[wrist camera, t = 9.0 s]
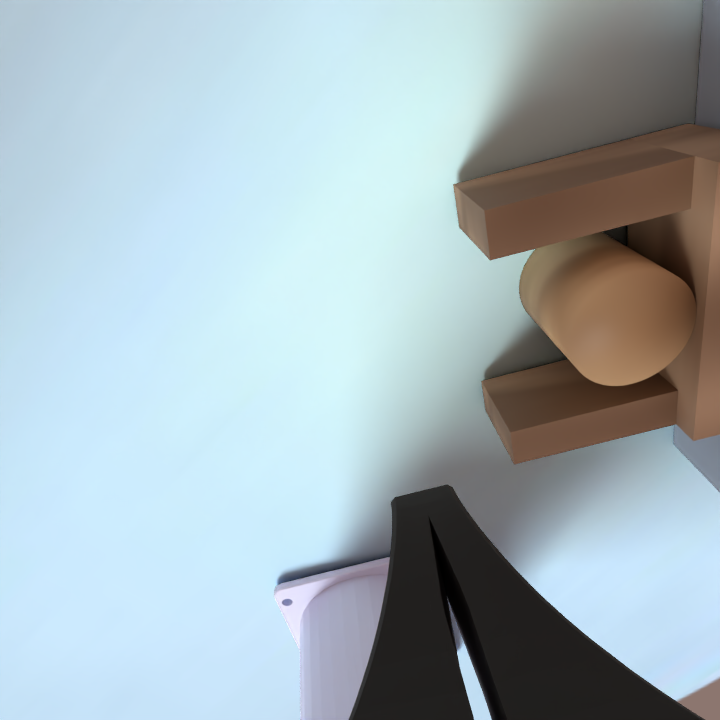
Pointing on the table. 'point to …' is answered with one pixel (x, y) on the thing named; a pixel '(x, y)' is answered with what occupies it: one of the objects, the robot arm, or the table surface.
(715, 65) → the wall
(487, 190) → the walnut cradle
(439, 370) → the table surface
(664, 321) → the oak dowel
